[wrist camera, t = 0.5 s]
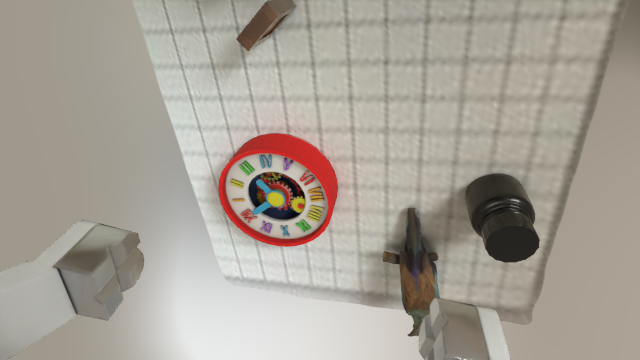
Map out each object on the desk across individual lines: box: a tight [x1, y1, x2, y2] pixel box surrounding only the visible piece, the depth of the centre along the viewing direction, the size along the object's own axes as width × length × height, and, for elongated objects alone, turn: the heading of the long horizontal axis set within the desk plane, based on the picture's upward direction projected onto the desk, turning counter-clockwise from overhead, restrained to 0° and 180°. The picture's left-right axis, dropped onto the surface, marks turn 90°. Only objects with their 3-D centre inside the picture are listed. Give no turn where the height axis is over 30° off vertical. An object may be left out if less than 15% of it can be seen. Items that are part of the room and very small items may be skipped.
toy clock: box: [218, 134, 338, 246], centre depth 64 cm, size 20×6×20 cm
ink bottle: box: [466, 174, 540, 263], centre depth 55 cm, size 10×9×12 cm
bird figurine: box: [383, 208, 440, 336], centre depth 65 cm, size 13×10×20 cm
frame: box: [237, 0, 296, 51], centre depth 48 cm, size 2×6×9 cm, turn 135°
